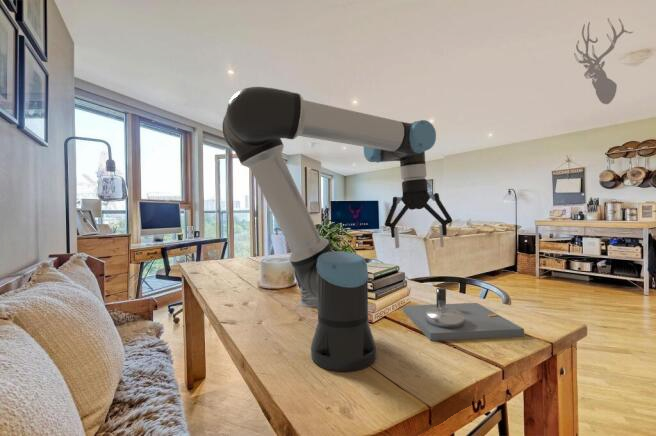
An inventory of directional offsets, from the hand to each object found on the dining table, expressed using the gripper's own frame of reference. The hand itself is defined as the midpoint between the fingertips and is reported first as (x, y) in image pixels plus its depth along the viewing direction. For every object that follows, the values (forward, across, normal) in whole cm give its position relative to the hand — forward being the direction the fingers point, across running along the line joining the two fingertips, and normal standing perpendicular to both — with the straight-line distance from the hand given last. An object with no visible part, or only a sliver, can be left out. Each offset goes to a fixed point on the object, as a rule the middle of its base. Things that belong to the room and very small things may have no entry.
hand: (419, 247), depth 95 cm
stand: (+22, -9, +4) cm, 24 cm away
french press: (+20, +38, +2) cm, 43 cm away
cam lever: (+20, -6, +6) cm, 21 cm away
